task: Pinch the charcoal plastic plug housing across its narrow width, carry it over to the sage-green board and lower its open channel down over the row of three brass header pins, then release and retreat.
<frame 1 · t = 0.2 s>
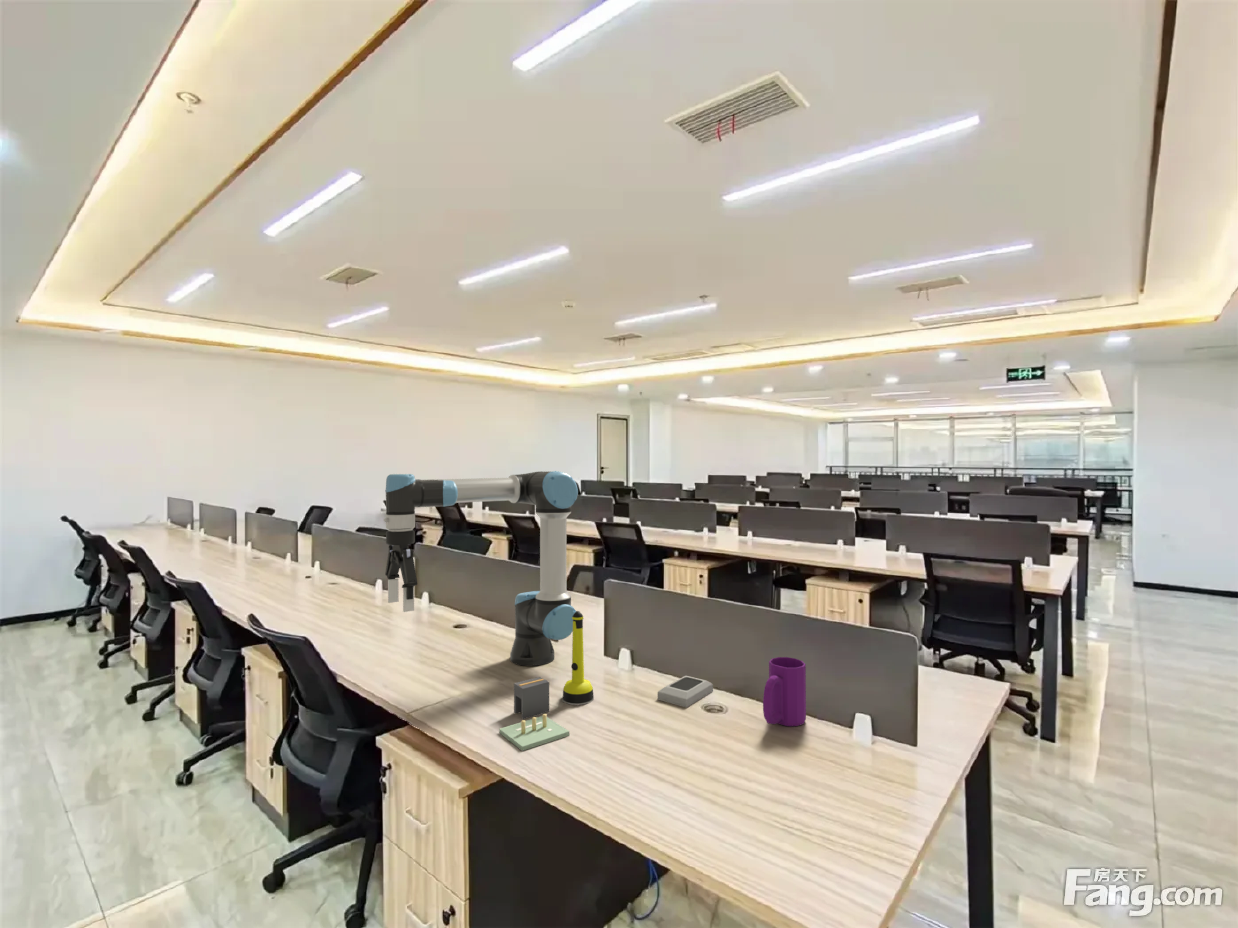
hand: (400, 606, 164), 28 cm above the table, fingers open, 13 cm apart
mug: (781, 724, 152), on the table
flashlight: (578, 699, 169), on the table
plug housing: (531, 712, 160), on the table
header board: (534, 734, 147), on the table
grey flat block: (685, 697, 171), on the table
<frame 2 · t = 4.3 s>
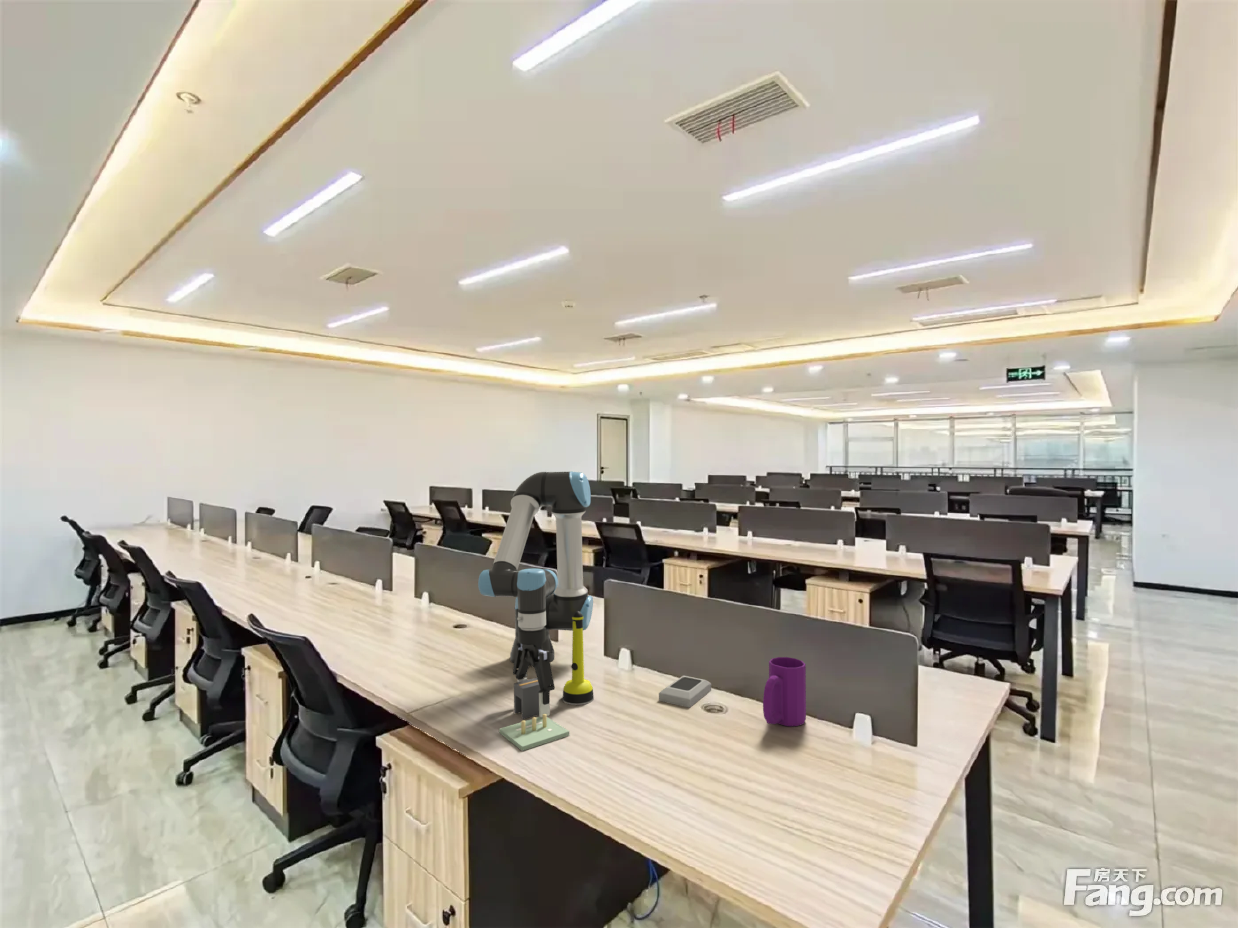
hand: (533, 709, 159), 1 cm above the table, fingers open, 11 cm apart
nothing on the table moved.
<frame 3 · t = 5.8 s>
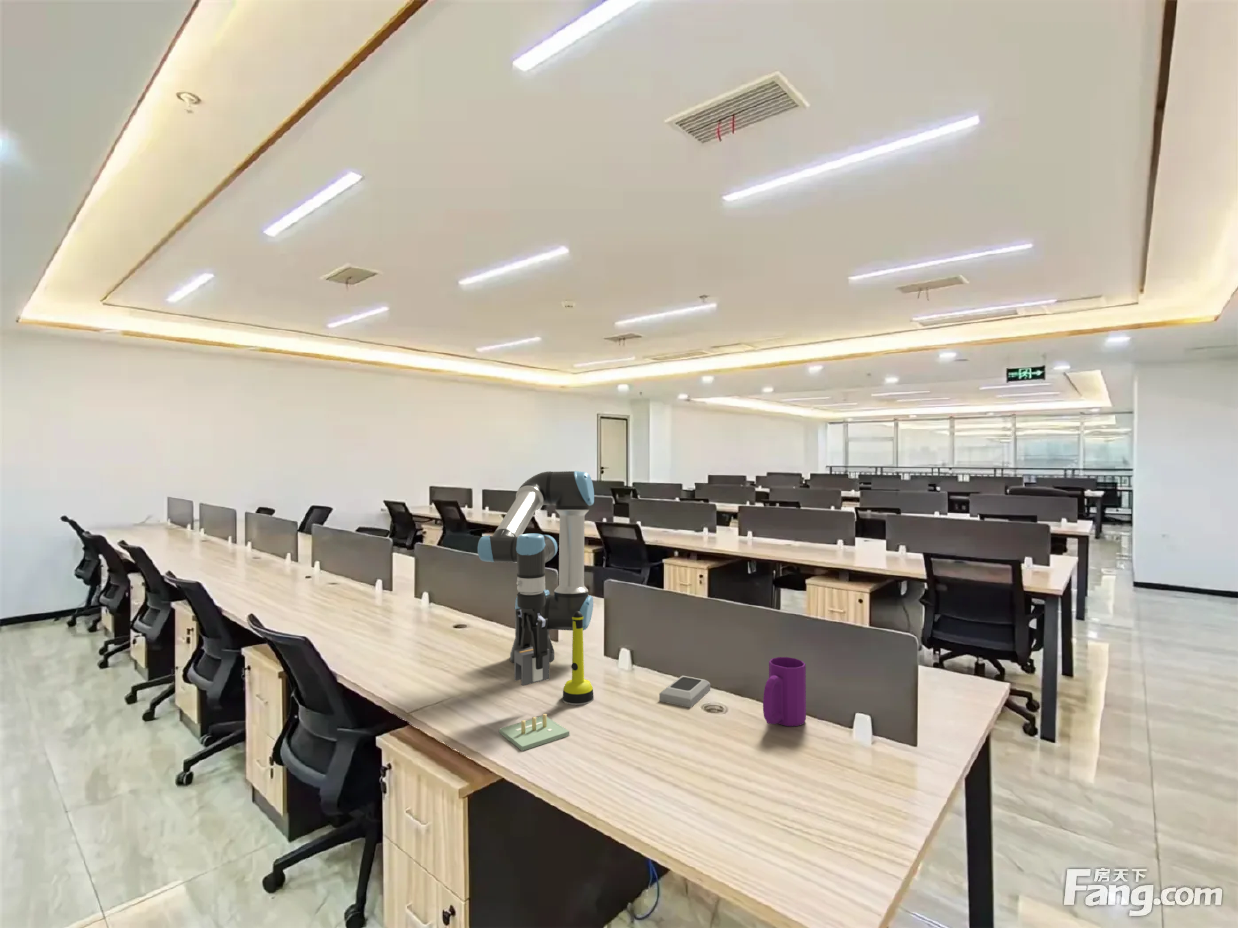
hand: (532, 676, 161), 9 cm above the table, fingers closed on plug housing, 5 cm apart
plug housing: (531, 679, 161), point 9 cm above the table, touching gripper
everything else where it was.
when the fingers open (2 cm above the table, at t = 9.7 s): plug housing stays where it is, resting on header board.
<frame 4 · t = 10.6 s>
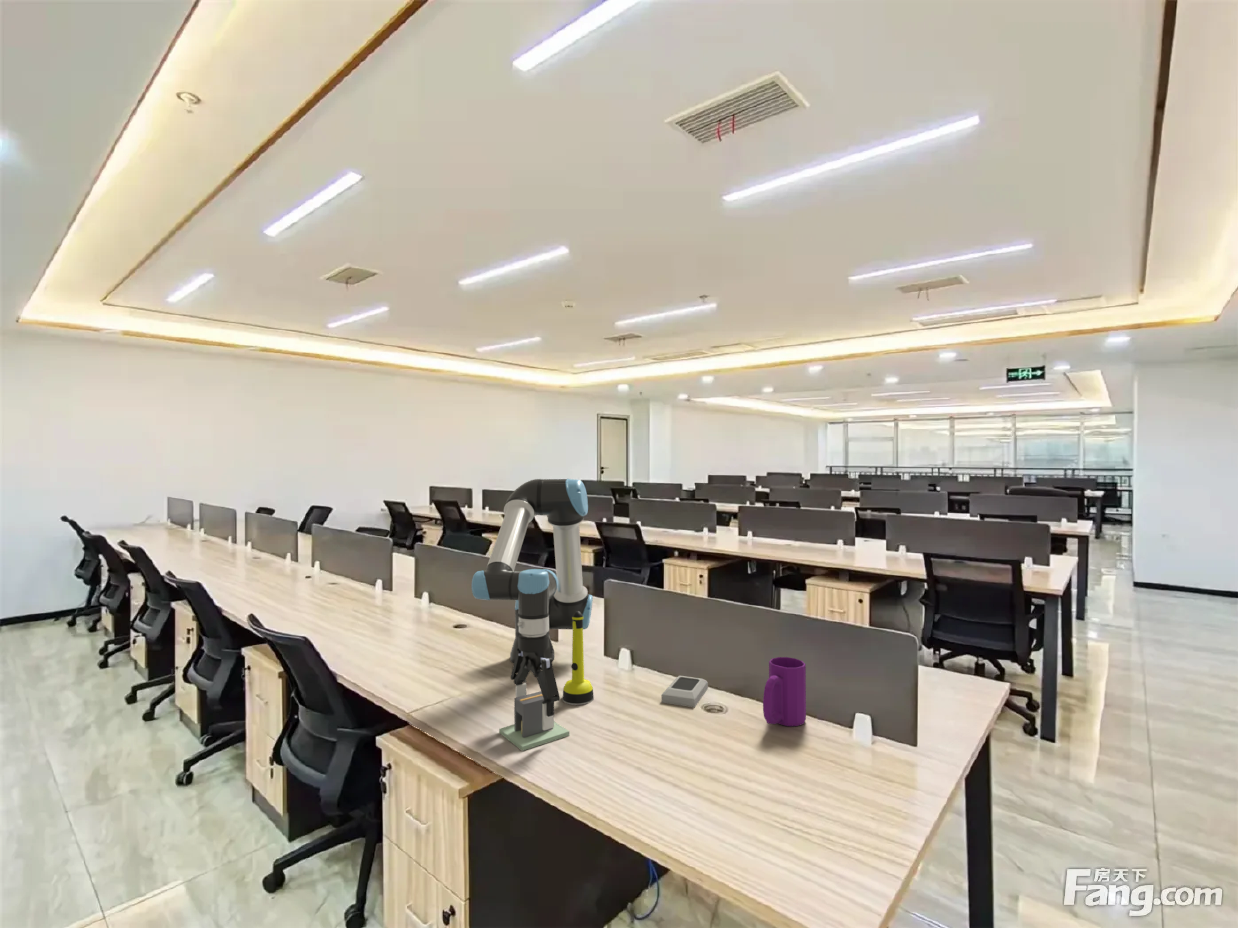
hand: (534, 719, 147), 4 cm above the table, fingers open, 13 cm apart
plug housing: (533, 729, 147), point 1 cm above the table, touching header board
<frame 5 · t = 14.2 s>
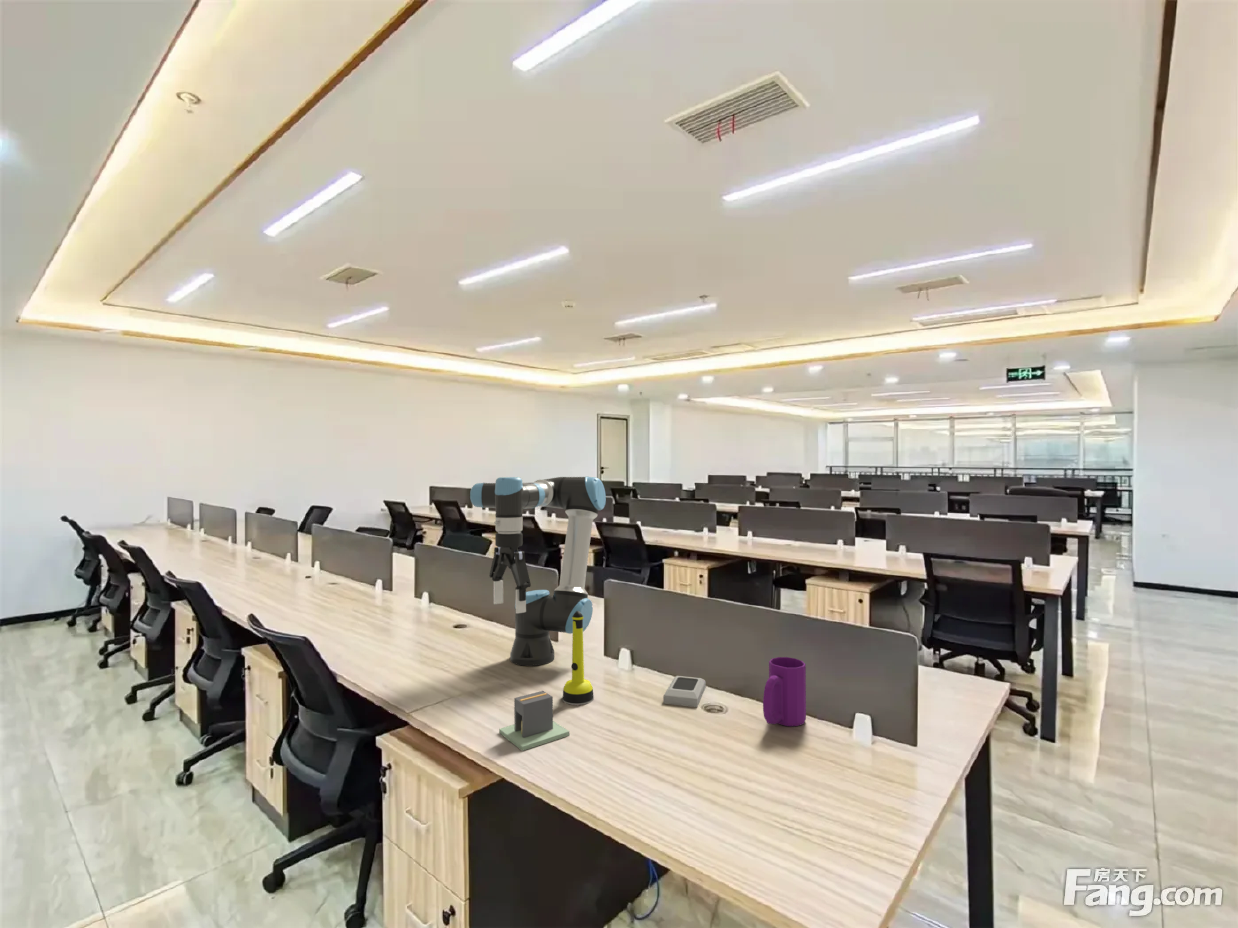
hand: (509, 608, 166), 27 cm above the table, fingers open, 13 cm apart
at the end: plug housing 0.1 cm off-centre on the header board, point 1.1 cm above the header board's base; plug housing tilted 0°; the gripper is holding nothing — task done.
